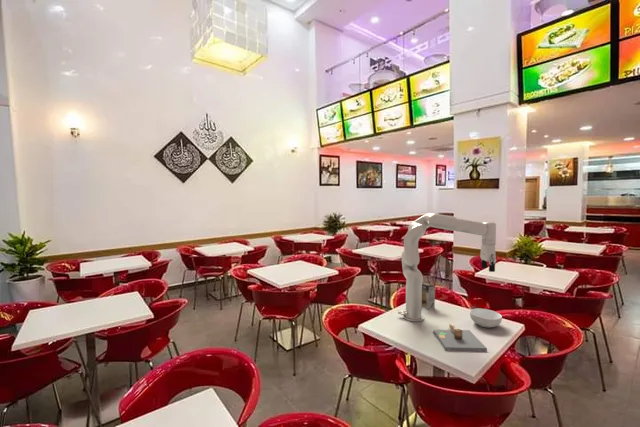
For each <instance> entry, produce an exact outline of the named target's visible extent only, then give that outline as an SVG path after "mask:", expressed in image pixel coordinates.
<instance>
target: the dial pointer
mask: <svg viewBox="0 0 640 427" xmlns="http://www.w3.org/2000/svg"><path fill="white" fill-rule="evenodd" d="M448 327H449V329H448V330H451V331H452V332H453V333H454V338H455V339H459V340H460V339H462V332H463V331H462V330H463V329H460V328H457V327H456V326H455V325H454V324H453V323H452V322H449V326H448Z"/></svg>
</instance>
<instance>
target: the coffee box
mask: <svg viewBox="0 0 640 427" xmlns="http://www.w3.org/2000/svg"><path fill="white" fill-rule="evenodd" d="M435 300H436V285H435V284H432V283H429V282H428V281H423V282H422V306H423V307H422V308H424V307H425V309H426V310H431V309H430V308H432V309H435V307H436V306H435V305H436V304H435V302H436V301H435Z"/></svg>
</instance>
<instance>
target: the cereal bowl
mask: <svg viewBox="0 0 640 427" xmlns="http://www.w3.org/2000/svg"><path fill="white" fill-rule="evenodd" d="M469 316H470V319H471V320H472V322H474V323H475V324H477V325H478V326H479V327H483V328H488V329H489V328H494V327H495V328H496V327H498V326H500V325H501V323H502V322H503V316H502V314H500V313H499V312H498V311H497V312H496V311H495V310H491V309H487V308H479V307H478V308H477V307H476V308H472V309H470V311H469Z"/></svg>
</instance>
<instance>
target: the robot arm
mask: <svg viewBox="0 0 640 427" xmlns="http://www.w3.org/2000/svg"><path fill="white" fill-rule="evenodd" d="M430 227H431V228H435V229H442V230H446V231H447V230H448V231H453V232H459V233H460V232H461V233H466V234H471V235H475V236H476V235H477V236H481V246H480V255H479V256H480V260H481V268H482V269H486V268H488V272H490V273H491V272H495V271H496V263H497V257H496V243H497V239H496V238H497V224H496V222H493V221H484V222H483V221H482V222H481V221H472V220H467V219H463V218H460V217H456V216H451V215H445V214H440V213H439V214H438V213H434V212H427V213H425V214H424V215H422V216H420V217H419V218H417V219H415V220H414V221H412V222H411V223H410V224H409V225H408V228H407V230H408V231H407V232H406V234H405V235H404V237H403V251H402V253H401V256H400V257H401V266H402V274H403V276H404V278H405V279H406V283H405V284H406V285H405V308H404V310H398V311H397V313H398V315H401V316H402V317H403V319H405V320H406V321H410V322H423V321H424V320H425V316H424V315H423V314H422V309H423V307H422V282H424V279H423V278H424V276H423V274H422V272H421V271H420V269H418V265H419V264H420V252H419V241H420V239H421V238H422V237H423V236H424V235H425V234H426V232H427V231H426V230H427V229H428V228H430ZM488 263H489V265H488Z"/></svg>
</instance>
